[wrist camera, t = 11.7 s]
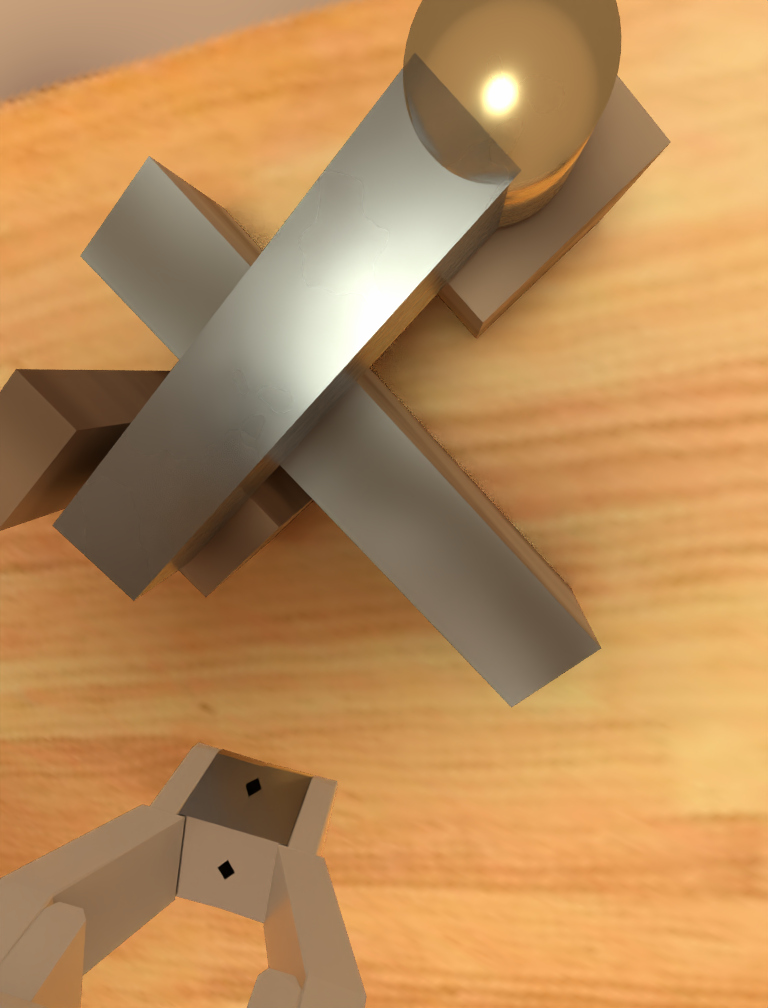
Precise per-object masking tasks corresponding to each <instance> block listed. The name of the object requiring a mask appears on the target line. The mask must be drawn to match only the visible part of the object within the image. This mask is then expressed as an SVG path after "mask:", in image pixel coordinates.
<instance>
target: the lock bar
mask: <svg viewBox="0 0 768 1008" xmlns="http://www.w3.org/2000/svg"><path fill="white" fill-rule="evenodd" d="M620 54H621V26H620V17H619V12H618V7H617V3H616V0H422V2H421V4H420V6H419V8H418V10H417V12H416V15H415V17H414V20H413V23H412V25H411V28H410V32H409V35H408V39H407V43H406V49H405V55H404V64H403V69H402V70H401V71H400V73H399V74H398V75H397V76H396V78H395V79H394V80H393V82H392V83H391V84H390V86H389V87H388V88H387V89H386V91H385V92H384V93H383V95H382V96H381V97H380V99H379V100H378V101H377V103H376V104H375V105H374V106H373V108H372V109H371V110H370V112H369V113H368V114H367V116H366V117H365V118H364V120H363V121H362V122H361V123H360V125H359V126H358V127H357V129H356V130H355V131H354V133H353V134H352V135H351V136H350V138H349V139H348V140H347V142H346V143H345V144H344V146H343V147H342V148H341V150H340V151H339V152H338V153H337V155H336V156H335V157H334V159H333V160H332V161H331V163H330V164H329V165H328V167H327V168H326V169H325V170H324V172H323V173H322V174H321V176H320V177H319V178H318V180H317V181H316V182H315V183H314V185H313V186H312V187H311V189H310V190H309V191H308V193H307V194H306V195H305V197H304V198H303V199H302V200H301V202H300V203H299V204H298V206H297V207H296V208H295V210H294V211H293V212H292V214H291V215H290V216H289V217H288V219H287V220H286V221H285V223H284V224H283V225H282V227H281V228H280V229H279V230H278V232H277V233H276V234H275V236H274V237H273V238H272V240H271V241H270V242H269V244H268V245H267V246H266V247H265V249H264V250H263V251H262V253H261V254H260V255H259V257H258V258H257V259H256V261H255V262H254V263H253V264H252V266H251V267H250V268H249V270H248V271H247V272H246V274H245V275H244V276H243V277H242V279H241V280H240V281H239V283H238V284H237V285H236V287H235V288H234V289H233V291H232V292H231V293H230V294H229V296H228V297H227V298H226V300H225V301H224V302H223V304H222V305H221V306H220V308H219V309H218V310H217V311H216V313H215V314H214V315H213V317H212V318H211V319H210V321H209V322H208V323H207V324H206V326H205V327H204V328H203V330H202V331H201V332H200V334H199V335H198V336H197V338H196V339H195V340H194V341H193V343H192V344H191V345H190V347H189V348H188V349H187V351H186V352H185V353H184V355H183V356H182V357H181V358H180V360H179V361H178V362H177V364H176V365H175V366H174V368H173V369H172V370H171V371H170V373H169V374H168V375H167V377H166V378H165V379H164V381H163V382H162V383H161V385H160V386H159V387H158V388H157V390H156V391H155V392H154V394H153V395H152V396H151V398H150V399H149V400H148V402H147V403H146V404H145V405H144V407H143V408H142V409H141V411H140V412H139V413H138V415H137V416H136V417H135V418H134V420H133V421H132V422H131V424H130V425H129V426H128V428H127V429H126V430H125V432H124V433H123V434H122V435H121V437H120V438H119V439H118V441H117V442H116V443H115V445H114V446H113V447H112V449H111V450H110V451H109V452H108V454H107V455H106V456H105V458H104V459H103V460H102V462H101V463H100V464H99V465H98V467H97V468H96V469H95V471H94V472H93V473H92V475H91V476H90V477H89V479H88V480H87V481H86V482H85V484H84V485H83V486H82V488H81V489H80V490H79V492H78V493H77V494H76V496H75V497H74V498H73V499H72V501H71V502H70V503H69V505H68V506H67V507H66V509H65V510H64V511H63V512H62V514H61V515H60V516H59V518H58V519H57V520H56V522H55V523H54V524H53V526H54V527H55V528H56V529H57V530H58V531H59V532H60V533H61V534H62V535H63V536H64V537H65V538H67V539H68V540H69V541H70V542H71V543H72V544H73V545H74V546H75V547H76V548H77V549H78V550H80V551H81V552H82V553H83V554H84V555H85V556H86V557H87V558H88V559H89V560H90V561H91V562H92V563H94V564H95V565H96V566H97V567H98V568H99V569H100V570H101V571H102V572H103V573H104V574H105V575H107V576H108V577H109V578H110V579H111V580H112V581H113V582H114V583H115V584H116V585H117V586H118V587H119V588H121V589H122V590H123V591H124V592H125V593H126V594H127V595H128V596H129V597H130V598H131V599H132V600H133V601H134V600H136V599H137V598H139V597H140V596H142V595H143V594H145V593H146V592H147V591H149V590H150V589H152V588H153V587H155V586H156V585H158V584H159V583H160V582H162V581H163V580H165V579H166V578H168V577H169V576H171V575H172V574H173V573H175V572H176V571H178V570H179V569H181V568H182V567H184V566H185V565H186V564H188V563H189V562H191V561H192V560H193V559H194V557H195V556H196V555H197V554H198V553H199V552H200V551H201V550H202V549H203V548H204V547H205V546H206V544H207V543H208V542H209V541H210V540H211V539H212V538H213V537H214V536H215V535H216V534H217V532H218V531H219V530H220V529H221V528H222V527H223V526H224V525H225V524H226V523H227V522H228V521H229V519H230V518H231V517H232V516H233V515H234V514H235V513H236V512H237V511H238V510H239V509H240V508H241V506H242V505H243V504H244V503H245V502H246V501H247V500H248V499H249V498H250V497H251V496H252V494H253V493H254V492H255V491H256V490H257V489H258V488H259V487H260V486H261V485H262V484H263V483H264V481H265V480H266V479H267V478H268V477H269V476H270V475H271V474H272V473H273V472H274V471H275V469H276V468H277V467H278V466H279V465H280V464H281V463H282V462H283V461H284V460H285V459H286V458H287V456H288V455H289V454H290V453H291V452H292V451H293V450H294V449H295V448H296V447H297V446H298V445H299V443H300V442H301V441H302V440H303V439H304V438H305V437H306V436H307V435H308V434H309V433H310V431H311V430H312V429H313V428H314V427H315V426H316V425H317V424H318V423H319V422H320V421H321V420H322V418H323V417H324V416H325V415H326V414H327V413H328V412H329V411H330V410H331V409H332V408H333V407H334V405H335V404H336V403H337V402H338V401H339V400H340V399H341V398H342V397H343V396H344V395H345V393H346V392H347V391H348V390H349V389H350V388H351V387H352V386H353V385H354V384H355V383H356V382H357V380H358V379H359V378H360V377H361V376H362V375H363V374H364V373H365V372H366V371H367V370H368V369H369V367H370V366H371V365H372V364H373V363H374V362H375V361H376V360H377V359H378V358H379V357H380V355H381V354H382V353H383V352H384V351H385V350H386V349H387V348H388V347H389V346H390V345H391V344H392V342H393V341H394V340H395V339H396V338H397V337H398V336H399V335H400V334H401V333H402V332H403V330H404V329H405V328H406V327H407V326H408V325H409V324H410V323H411V322H412V321H413V320H414V319H415V317H416V316H417V315H418V314H419V313H420V312H421V311H422V310H423V309H424V308H425V307H426V306H427V304H428V303H429V302H430V301H431V300H432V299H433V298H434V297H435V296H436V295H437V294H438V292H439V291H440V290H441V289H442V288H443V287H444V286H445V285H446V284H447V283H448V282H449V281H450V279H451V278H452V277H453V276H454V275H455V274H456V273H457V272H458V271H459V270H460V269H461V268H462V266H463V265H464V264H465V263H466V262H467V261H468V260H469V259H470V258H471V257H472V256H473V254H474V253H475V252H476V251H477V250H478V249H479V248H480V247H481V246H482V245H483V244H484V243H485V241H486V240H487V239H488V238H489V237H490V236H491V235H492V234H493V233H494V232H495V231H496V229H497V228H498V227H505V226H508V225H512V224H515V223H518V222H520V221H522V220H525V219H526V218H528V217H530V216H532V215H533V214H535V213H536V212H538V211H539V210H540V209H542V208H543V207H544V206H545V205H546V204H547V203H548V202H549V201H550V200H552V198H553V197H554V196H555V195H556V194H557V192H558V191H559V190H560V189H561V187H562V186H563V184H564V183H565V181H566V180H567V178H568V176H569V174H570V172H571V170H572V169H573V167H574V165H575V163H576V161H577V159H578V158H579V156H580V154H581V152H582V150H583V148H584V146H585V145H586V143H587V141H588V139H589V137H590V135H591V133H592V132H593V130H594V128H595V126H596V124H597V122H598V121H599V119H600V117H601V115H602V113H603V111H604V109H605V107H606V105H607V103H608V100H609V98H610V95H611V93H612V90H613V88H614V84H615V80H616V76H617V73H618V68H619V61H620Z"/></svg>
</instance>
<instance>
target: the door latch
mask: <svg viewBox="0 0 768 1008" xmlns="http://www.w3.org/2000/svg"><path fill="white" fill-rule="evenodd" d="M669 143H670V141H669V139H668V138H667V137H666V136H665V134H664V133H663V132H662V131H661V129H660V128H659V127H658V126H657V124H656V123H655V122H654V121H653V119H652V118H651V117H650V116H649V114H648V113H647V112H646V111H645V109H644V108H643V107H642V106H641V104H640V103H639V102H638V101H637V99H636V98H635V97H634V96H633V94H632V93H631V92H630V91H629V89H628V88H627V87H626V86H625V84H624V83H623V82H622V81H621V79H620V78H619V77H618V76H616V80H615V84H614V88H613V90H612V93H611V95H610V98H609V100H608V103H607V105H606V107H605V109H604V111H603V113H602V115H601V117H600V119H599V121H598V122H597V124H596V126H595V128H594V130H593V132H592V133H591V135H590V137H589V139H588V141H587V143H586V145H585V146H584V148H583V150H582V152H581V154H580V156H579V158H578V159H577V161H576V163H575V165H574V167H573V169H572V170H571V172H570V174H569V176H568V178H567V180H566V181H565V183H564V184H563V186H562V187H561V189H560V190H559V191H558V192H557V194H556V195H555V196H554V197H553V198H552V200H550V201H549V202H548V203H547V204H546V205H545V206H544V207H543V208H542V209H540V210H539V211H538V212H536V213H535V214H533V215H532V216H530V217H528V218H526V219H525V220H522V221H520V222H518V223H515V224H512V225H508V226H505V227H498V228H497V229H496V231H495V232H494V233H493V234H492V235H491V236H490V237H489V238H488V239H487V240H486V241H485V243H484V244H483V245H482V246H481V247H480V248H479V249H478V250H477V251H476V252H475V253H474V254H473V256H472V257H471V258H470V259H469V260H468V261H467V262H466V263H465V264H464V265H463V266H462V268H461V269H460V270H459V271H458V272H457V273H456V274H455V275H454V276H453V277H452V278H451V279H450V281H449V282H448V283H447V284H446V285H445V286H444V287H443V288H442V289H441V290H440V291H439V292H438V296H439V297H440V298H441V299H442V300H443V301H444V302H445V304H446V305H447V306H448V307H449V308H450V309H451V310H452V311H453V313H454V314H455V315H456V316H457V317H458V318H459V319H460V321H461V322H462V323H463V324H464V325H465V326H466V327H467V329H468V330H469V331H470V332H471V333H472V334H473V335H474V336H475V338H477V337H478V336H480V335H481V334H482V333H483V332H484V331H485V330H486V329H487V328H488V327H489V326H490V325H491V324H492V323H493V322H494V321H495V320H496V319H497V318H498V317H499V316H500V315H501V314H503V313H504V312H505V311H506V310H507V309H508V308H509V307H510V306H511V305H512V304H513V303H514V302H515V301H516V300H517V299H518V298H519V297H520V296H521V295H522V294H523V293H525V292H526V291H527V290H528V289H529V288H530V287H531V286H532V285H533V284H534V283H535V282H536V281H537V280H538V279H539V278H540V277H541V276H542V275H543V274H544V273H545V272H547V271H548V270H549V269H550V268H551V267H552V266H553V265H554V264H555V263H556V262H557V261H558V260H559V259H560V258H561V257H562V256H563V255H564V254H565V253H566V252H567V251H568V250H570V249H571V248H572V247H573V246H574V245H575V244H576V243H577V242H578V241H579V240H580V239H581V238H582V237H583V236H584V235H585V234H586V233H587V232H588V231H589V230H590V229H592V228H593V227H594V226H595V225H596V224H597V223H598V222H599V221H600V220H601V219H602V218H603V217H604V215H605V214H606V213H607V212H608V211H609V210H610V209H611V208H612V207H613V205H614V204H615V203H616V202H617V201H618V200H619V199H620V198H621V197H622V196H623V194H624V193H625V192H626V191H627V190H628V189H629V188H630V187H631V186H632V184H633V183H634V182H635V181H636V180H637V179H638V178H639V177H640V176H641V174H642V173H643V172H644V171H645V170H646V169H647V168H648V167H649V166H650V164H651V163H652V162H653V161H654V160H655V159H656V158H657V157H658V156H659V155H660V153H661V152H662V151H663V150H664V149H665V148H666V147H667V146H668V145H669ZM261 253H262V250H261V249H260V247H259V246H258V245H257V244H256V243H255V242H254V241H253V240H252V239H251V238H250V237H249V235H248V234H247V233H246V232H245V231H244V230H243V229H242V228H241V227H240V226H239V224H238V223H237V222H236V221H235V220H234V219H233V218H232V217H231V216H230V215H229V214H228V212H227V211H226V210H225V209H224V208H223V207H221V206H220V205H218V204H217V203H216V202H214V201H213V200H211V199H210V198H208V197H207V196H206V195H204V194H203V193H201V192H200V191H198V190H197V189H196V188H194V187H193V186H191V185H190V184H188V183H187V182H186V181H184V180H183V179H181V178H180V177H178V176H177V175H175V174H174V173H173V172H171V171H170V170H168V169H167V168H165V167H164V166H163V165H161V164H160V163H158V162H157V161H155V160H154V159H153V158H151V157H150V156H149V157H148V158H147V160H146V161H145V163H144V164H143V166H142V167H141V169H140V170H139V171H138V173H137V174H136V176H135V177H134V179H133V180H132V182H131V183H130V185H129V186H128V187H127V189H126V190H125V192H124V193H123V195H122V196H121V198H120V199H119V201H118V202H117V203H116V205H115V206H114V208H113V209H112V211H111V212H110V214H109V215H108V216H107V218H106V219H105V221H104V222H103V224H102V225H101V227H100V228H99V230H98V231H97V232H96V234H95V235H94V237H93V238H92V240H91V241H90V243H89V244H88V246H87V247H86V248H85V250H84V251H83V253H82V254H81V257H82V258H83V259H84V260H85V261H86V262H87V264H88V265H89V266H90V267H91V268H92V269H93V270H94V271H95V272H96V273H97V274H98V275H99V276H100V277H101V278H102V279H103V280H104V281H105V282H106V283H107V284H108V286H109V287H110V288H111V289H112V290H113V291H114V292H115V293H116V294H117V295H118V296H119V297H120V298H121V299H122V300H123V301H124V302H125V303H126V304H127V305H128V306H129V308H130V309H131V310H132V311H133V312H134V313H135V314H136V315H137V316H138V317H139V318H140V319H141V320H142V321H143V322H144V323H145V324H146V325H147V326H148V327H149V328H150V329H151V331H152V332H153V333H154V334H155V335H156V336H157V337H158V338H159V339H160V340H161V341H162V342H163V343H164V344H165V345H166V346H167V347H168V348H169V349H170V350H171V351H172V353H173V354H174V355H175V356H176V357H177V358H178V359H179V360H180V358H181V357H182V356H183V355H184V353H185V352H186V351H187V349H188V348H189V347H190V345H191V344H192V343H193V341H194V340H195V339H196V338H197V336H198V335H199V334H200V332H201V331H202V330H203V328H204V327H205V326H206V324H207V323H208V322H209V321H210V319H211V318H212V317H213V315H214V314H215V313H216V311H217V310H218V309H219V308H220V306H221V305H222V304H223V302H224V301H225V300H226V298H227V297H228V296H229V294H230V293H231V292H232V291H233V289H234V288H235V287H236V285H237V284H238V283H239V281H240V280H241V279H242V277H243V276H244V275H245V274H246V272H247V271H248V270H249V268H250V267H251V266H252V264H253V263H254V262H255V261H256V259H257V258H258V257H259V255H260V254H261ZM169 373H170V371H125V370H30V369H16V370H15V372H14V373H13V374H12V376H11V377H10V379H9V380H8V382H7V383H6V384H5V386H4V387H3V389H2V390H1V392H0V531H1V530H4V529H7V528H10V527H12V526H15V525H18V524H21V523H24V522H27V521H30V520H33V519H36V518H39V517H42V516H45V515H48V514H51V513H54V512H57V511H60V510H63V509H65V508H66V507H67V506H68V505H69V503H70V502H71V501H72V499H73V498H74V497H75V496H76V494H77V493H78V492H79V490H80V489H81V488H82V486H83V485H84V484H85V482H86V481H87V480H88V479H89V477H90V476H91V475H92V473H93V472H94V471H95V469H96V468H97V467H98V465H99V464H100V463H101V462H102V460H103V459H104V458H105V456H106V455H107V454H108V452H109V451H110V450H111V449H112V447H113V446H114V445H115V443H116V442H117V441H118V439H119V438H120V437H121V435H122V434H123V433H124V432H125V430H126V429H127V428H128V426H129V425H130V424H131V422H132V421H133V420H134V418H135V417H136V416H137V415H138V413H139V412H140V411H141V409H142V408H143V407H144V405H145V404H146V403H147V402H148V400H149V399H150V398H151V396H152V395H153V394H154V392H155V391H156V390H157V388H158V387H159V386H160V385H161V383H162V382H163V381H164V379H165V378H166V377H167V375H168V374H169ZM313 500H314V501H315V502H316V503H317V504H318V505H319V506H320V507H321V509H322V510H323V511H324V512H325V513H326V514H327V515H328V516H329V517H330V518H331V519H332V520H333V521H334V522H335V523H336V524H337V525H338V526H339V527H340V528H341V529H342V531H343V532H344V533H345V534H346V535H347V536H348V537H349V538H350V539H351V540H352V541H353V542H354V543H355V544H356V545H357V546H358V547H359V548H360V549H361V550H362V551H363V553H364V554H365V555H366V556H367V557H368V558H369V559H370V560H371V561H372V562H373V563H374V564H375V565H376V566H377V567H378V568H379V569H380V570H381V571H382V572H383V573H384V575H385V576H386V577H387V578H388V579H389V580H390V581H391V582H392V583H393V584H394V585H395V586H396V587H397V588H398V589H399V590H400V591H401V592H402V593H403V594H404V595H405V596H406V598H407V599H408V600H409V601H410V602H411V603H412V604H413V605H414V606H415V607H416V608H417V609H418V610H419V611H420V612H421V613H422V614H423V615H424V616H425V617H426V618H427V620H428V621H429V622H430V623H431V624H432V625H433V626H434V627H435V628H436V629H437V630H438V631H439V632H440V633H441V634H442V635H443V636H444V637H445V638H446V639H447V640H448V642H449V643H450V644H451V645H452V646H453V647H454V648H455V649H456V650H457V651H458V652H459V653H460V654H461V655H462V656H463V657H464V658H465V659H466V660H467V661H468V662H469V664H470V665H471V666H472V667H473V668H474V669H475V670H476V671H477V672H478V673H479V674H480V675H481V676H482V677H483V678H484V679H485V680H486V681H487V682H488V683H489V684H490V685H491V687H492V688H493V689H494V690H495V691H496V692H497V693H498V694H499V695H500V696H501V697H502V698H503V699H504V700H505V701H506V702H507V703H508V704H509V705H510V706H511V707H513V706H514V705H516V704H517V703H519V702H520V701H522V700H524V699H525V698H527V697H528V696H530V695H531V694H533V693H534V692H536V691H537V690H539V689H540V688H542V687H543V686H545V685H546V684H548V683H549V682H551V681H552V680H554V679H555V678H557V677H558V676H560V675H561V674H563V673H564V672H566V671H568V670H569V669H571V668H572V667H574V666H575V665H577V664H578V663H580V662H581V661H583V660H584V659H586V658H587V657H589V656H590V655H592V654H593V653H595V652H596V651H598V650H599V649H601V647H600V645H599V643H598V641H597V639H596V637H595V635H594V633H593V631H592V629H591V627H590V625H589V623H588V621H587V619H586V617H585V616H584V614H583V612H582V610H581V608H580V606H579V604H578V602H577V600H576V598H575V596H574V594H573V592H572V590H571V588H570V587H569V586H568V585H567V584H566V583H565V582H564V581H563V580H562V578H561V577H560V576H559V575H558V574H557V573H556V572H555V571H554V570H553V569H552V567H551V566H550V565H549V564H548V563H547V562H546V561H545V560H544V559H543V558H542V557H541V555H540V554H539V553H538V552H537V551H536V550H535V549H534V548H533V547H532V546H531V544H530V543H529V542H528V541H527V540H526V539H525V538H524V537H523V536H522V535H521V533H520V532H519V531H518V530H517V529H516V528H515V527H514V526H513V525H512V524H511V523H510V521H509V520H508V519H507V518H506V517H505V516H504V515H503V514H502V513H501V512H500V510H499V509H498V508H497V507H496V506H495V505H494V504H493V503H492V502H491V501H490V500H489V498H488V497H487V496H486V495H485V494H484V493H483V492H482V491H481V490H480V489H479V487H478V486H477V485H476V484H475V483H474V482H473V481H472V480H471V479H470V478H469V477H468V475H467V474H466V473H465V472H464V471H463V470H462V469H461V468H460V467H459V466H458V464H457V463H456V462H455V461H454V460H453V459H452V458H451V457H450V456H449V455H448V454H447V452H446V451H445V450H444V449H443V448H442V447H441V446H440V445H439V444H438V443H437V441H436V440H435V439H434V438H433V437H432V436H431V435H430V434H429V433H428V432H427V430H426V429H425V428H424V427H423V426H422V425H421V424H420V423H419V422H418V421H417V420H416V418H415V417H414V416H413V415H412V414H411V413H410V412H409V411H408V410H407V409H406V407H405V406H404V405H403V404H402V403H401V402H400V401H399V400H398V399H397V398H396V397H395V395H394V394H393V393H392V392H391V391H390V390H389V389H388V388H387V387H386V386H385V384H384V383H383V382H382V381H381V380H380V379H379V378H378V377H377V376H376V375H375V374H374V372H373V371H372V370H371V369H370V368H369V369H368V370H367V371H366V372H365V373H364V374H363V375H362V376H361V377H360V378H359V379H358V380H357V382H356V383H355V384H354V385H353V386H352V387H351V388H350V389H349V390H348V391H347V392H346V393H345V395H344V396H343V397H342V398H341V399H340V400H339V401H338V402H337V403H336V404H335V405H334V407H333V408H332V409H331V410H330V411H329V412H328V413H327V414H326V415H325V416H324V417H323V418H322V420H321V421H320V422H319V423H318V424H317V425H316V426H315V427H314V428H313V429H312V430H311V431H310V433H309V434H308V435H307V436H306V437H305V438H304V439H303V440H302V441H301V442H300V443H299V445H298V446H297V447H296V448H295V449H294V450H293V451H292V452H291V453H290V454H289V455H288V456H287V458H286V459H285V460H284V461H283V462H282V463H281V464H280V465H279V466H278V467H277V468H276V469H275V471H274V472H273V473H272V474H271V475H270V476H269V477H268V478H267V479H266V480H265V481H264V483H263V484H262V485H261V486H260V487H259V488H258V489H257V490H256V491H255V492H254V493H253V494H252V496H251V497H250V498H249V499H248V500H247V501H246V502H245V503H244V504H243V505H242V506H241V508H240V509H239V510H238V511H237V512H236V513H235V514H234V515H233V516H232V517H231V518H230V519H229V521H228V522H227V523H226V524H225V525H224V526H223V527H222V528H221V529H220V530H219V531H218V532H217V534H216V535H215V536H214V537H213V538H212V539H211V540H210V541H209V542H208V543H207V544H206V546H205V547H204V548H203V549H202V550H201V551H200V552H199V553H198V554H197V555H196V556H195V557H194V559H193V560H192V561H191V562H189V563H188V564H186V565H185V566H184V567H182V568H181V569H179V571H180V572H181V573H182V574H183V575H184V576H185V577H186V578H187V579H188V580H189V581H190V582H191V583H192V584H193V585H194V586H195V587H196V588H197V589H198V590H199V591H200V592H201V593H202V594H203V595H204V596H205V597H207V596H208V595H209V594H210V593H211V592H212V591H214V590H215V589H216V588H217V587H218V586H219V585H220V584H222V583H223V582H224V581H225V580H226V579H227V578H228V577H230V576H231V575H232V574H233V573H234V572H235V571H236V570H238V569H239V568H240V567H241V566H242V565H243V564H244V563H246V562H247V561H248V560H249V559H250V558H251V557H252V556H254V555H255V554H256V553H257V552H258V551H259V550H260V549H262V548H263V547H264V546H265V545H266V544H267V543H269V542H270V541H271V540H272V539H273V538H274V537H275V536H276V535H277V534H278V533H279V532H280V531H281V530H282V529H284V528H285V527H286V526H287V525H288V524H289V523H290V522H291V521H292V520H293V519H294V518H295V517H296V516H297V515H298V514H299V513H300V512H301V511H302V510H304V509H305V508H306V507H307V506H308V505H309V504H310V503H311V502H312V501H313Z"/></svg>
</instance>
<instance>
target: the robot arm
mask: <svg viewBox="0 0 768 1008" xmlns="http://www.w3.org/2000/svg"><path fill="white" fill-rule="evenodd" d="M337 785H338V782H337V781H335V780H331V779H327V778H323V777H320V776H316V775H312V774H308V773H304V772H301V771H297V770H293V769H289V768H286V767H282V766H278V765H274V764H271V763H266V762H262V761H259V760H256V759H253V758H250V757H246V756H243V755H240V754H237V753H233V752H230V751H227V750H224V749H219V748H215V747H212V746H209V745H206V744H203V743H200V742H199V743H197V744H196V745H195V746H193V747H192V748H191V750H190V751H189V753H188V754H187V755H186V757H185V758H184V759H183V761H182V762H181V764H180V765H179V766H178V768H177V769H176V770H175V772H174V773H173V775H172V776H171V777H170V779H169V780H168V781H167V783H166V784H165V786H164V787H163V788H162V790H161V791H160V792H159V794H158V795H157V797H156V798H155V799H154V801H153V802H152V803H151V805H150V806H146V805H140V806H138V807H136V808H134V809H132V810H131V811H129V812H127V813H125V814H123V815H121V816H119V817H117V818H115V819H113V820H111V821H109V822H107V823H106V824H104V825H102V826H100V827H98V828H96V829H94V830H92V831H90V832H88V833H86V834H84V835H82V836H81V837H79V838H77V839H75V840H73V841H71V842H69V843H67V844H65V845H63V846H61V847H59V848H58V849H56V850H54V851H52V852H50V853H48V854H46V855H44V856H42V857H40V858H38V859H36V860H34V861H33V862H31V863H29V864H27V865H25V866H23V867H21V868H19V869H17V870H15V871H13V872H11V873H9V874H8V875H6V876H4V877H2V878H0V1008H80V1006H81V991H82V976H83V975H84V974H85V973H87V972H88V971H89V970H90V969H91V968H93V967H94V966H95V965H96V964H97V963H99V962H100V961H101V960H102V959H103V958H105V957H106V956H107V955H108V954H110V953H111V952H112V951H113V950H114V949H116V948H117V947H118V946H119V945H120V944H122V943H123V942H124V941H125V940H126V939H128V938H129V937H130V936H131V935H133V934H134V933H135V932H136V931H137V930H139V929H140V928H141V927H142V926H143V925H145V924H146V923H147V922H148V921H149V920H151V919H152V918H153V917H154V916H156V915H157V914H158V913H159V912H160V911H162V910H163V909H164V908H165V907H166V906H168V905H169V904H170V903H171V902H173V901H174V900H175V896H177V897H181V898H184V899H188V900H192V901H196V902H199V903H203V904H207V905H210V906H214V907H218V908H221V909H224V910H227V911H230V912H233V913H236V914H238V915H241V916H244V917H247V918H250V919H253V920H256V921H259V922H262V923H264V934H265V942H266V950H267V958H268V966H269V968H268V969H266V970H265V971H264V972H262V973H261V974H259V975H258V977H257V980H256V983H255V986H254V989H253V992H252V994H251V997H250V1000H249V1003H248V1006H247V1008H365V1003H366V993H365V990H364V987H363V983H362V980H361V977H360V974H359V970H358V967H357V964H356V960H355V957H354V954H353V951H352V947H351V944H350V941H349V938H348V934H347V931H346V928H345V924H344V921H343V918H342V915H341V911H340V908H339V905H338V901H337V898H336V895H335V892H334V888H333V885H332V882H331V879H330V875H329V872H328V869H327V865H326V862H325V859H324V858H323V857H322V853H323V848H324V844H325V840H326V835H327V831H328V827H329V822H330V818H331V813H332V809H333V804H334V800H335V795H336V790H337Z"/></svg>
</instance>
